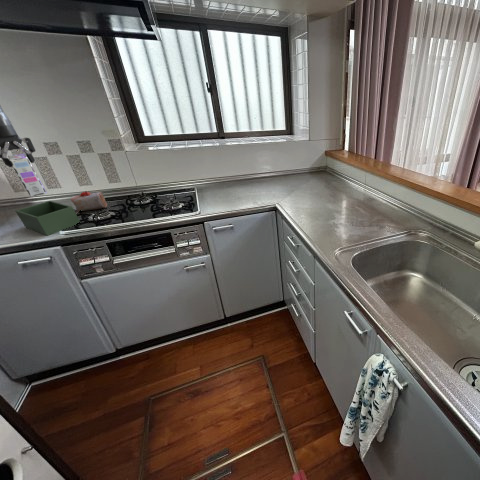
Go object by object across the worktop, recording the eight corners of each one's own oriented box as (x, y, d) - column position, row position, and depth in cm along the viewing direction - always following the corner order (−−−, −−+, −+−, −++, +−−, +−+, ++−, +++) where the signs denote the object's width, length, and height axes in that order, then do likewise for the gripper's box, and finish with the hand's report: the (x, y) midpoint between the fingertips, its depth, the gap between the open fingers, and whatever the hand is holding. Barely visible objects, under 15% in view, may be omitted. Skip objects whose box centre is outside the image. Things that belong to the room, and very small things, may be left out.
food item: (75, 213, 142) (66, 196, 137) (79, 208, 148) (71, 191, 143) (106, 209, 147) (98, 192, 142) (108, 204, 153) (101, 187, 148)
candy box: (47, 193, 123) (27, 157, 114) (30, 197, 119) (7, 159, 111) (44, 187, 131) (25, 152, 123) (27, 190, 127) (6, 155, 119)
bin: (25, 227, 128) (14, 210, 124) (59, 216, 139) (50, 200, 134) (47, 235, 121) (36, 217, 116) (80, 223, 131) (72, 206, 127)
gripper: (16, 122, 117) (37, 160, 125) (-31, 126, 106) (-5, 167, 114) (25, 122, 114) (45, 161, 123) (-23, 127, 103) (4, 169, 111)
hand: (21, 164), depth 118 cm, fingers closed on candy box, 7 cm apart
